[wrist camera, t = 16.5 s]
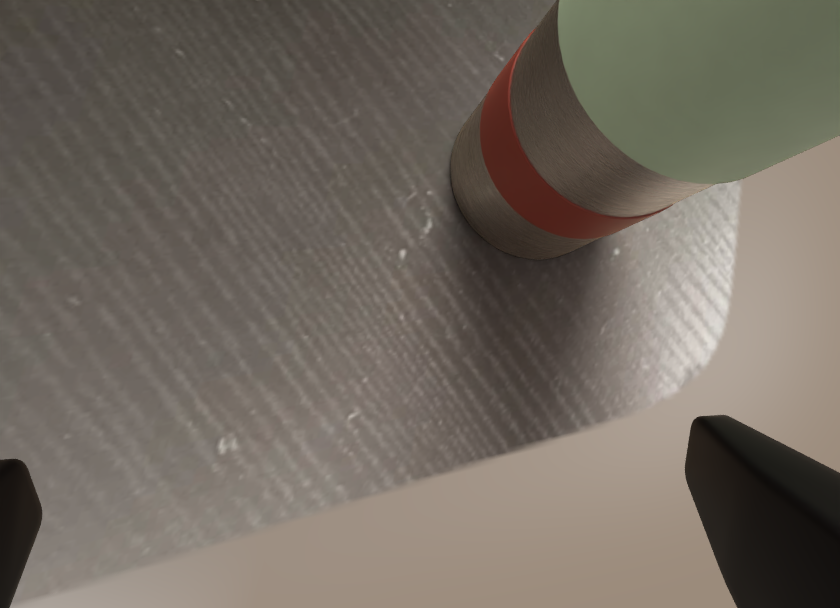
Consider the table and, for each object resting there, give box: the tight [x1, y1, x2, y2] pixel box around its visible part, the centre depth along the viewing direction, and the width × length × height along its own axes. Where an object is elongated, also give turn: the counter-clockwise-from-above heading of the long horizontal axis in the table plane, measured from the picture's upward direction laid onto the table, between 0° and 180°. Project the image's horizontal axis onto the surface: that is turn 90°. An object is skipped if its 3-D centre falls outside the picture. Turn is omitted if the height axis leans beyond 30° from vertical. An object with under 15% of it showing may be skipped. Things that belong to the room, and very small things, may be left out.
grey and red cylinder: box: [450, 0, 715, 260], centre depth 19 cm, size 6×6×9 cm
